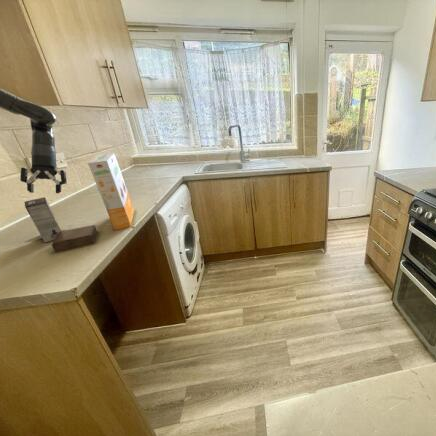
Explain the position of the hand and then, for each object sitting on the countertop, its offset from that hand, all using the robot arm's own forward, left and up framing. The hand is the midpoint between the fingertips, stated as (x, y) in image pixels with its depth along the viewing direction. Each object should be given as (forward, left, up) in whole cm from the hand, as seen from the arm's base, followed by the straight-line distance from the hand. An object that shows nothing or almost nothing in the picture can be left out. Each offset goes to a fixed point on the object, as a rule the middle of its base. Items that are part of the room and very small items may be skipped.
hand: (44, 192), depth 107 cm
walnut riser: (+10, -25, -16) cm, 31 cm away
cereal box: (+27, -9, -16) cm, 32 cm away
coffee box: (0, -13, -16) cm, 21 cm away
